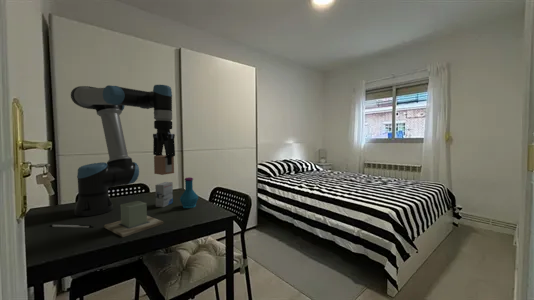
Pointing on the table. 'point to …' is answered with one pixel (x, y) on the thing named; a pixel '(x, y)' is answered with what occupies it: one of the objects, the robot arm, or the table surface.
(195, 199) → the teal vase
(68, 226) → the pen
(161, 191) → the ink box
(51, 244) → the table surface
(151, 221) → the beige flat square slab
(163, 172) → the terracotta block
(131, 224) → the sage block
